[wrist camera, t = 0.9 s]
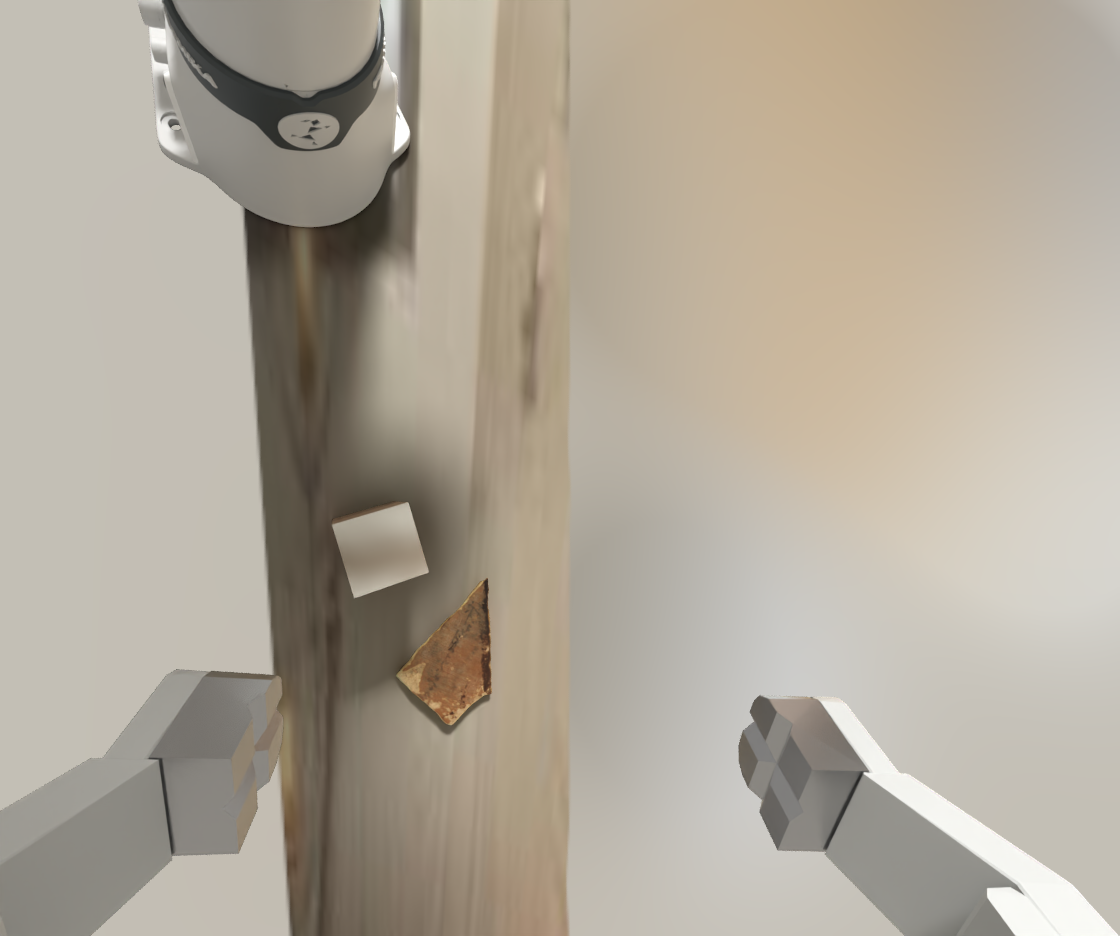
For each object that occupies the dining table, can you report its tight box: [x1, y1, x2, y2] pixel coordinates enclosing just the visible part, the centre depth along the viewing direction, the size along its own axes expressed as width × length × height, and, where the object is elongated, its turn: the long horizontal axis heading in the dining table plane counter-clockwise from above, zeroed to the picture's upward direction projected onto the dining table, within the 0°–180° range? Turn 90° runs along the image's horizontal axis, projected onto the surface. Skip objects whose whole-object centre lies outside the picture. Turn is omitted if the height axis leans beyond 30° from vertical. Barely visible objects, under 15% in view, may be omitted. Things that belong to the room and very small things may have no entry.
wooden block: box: [332, 501, 429, 598], centre depth 41 cm, size 5×5×10 cm
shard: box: [396, 578, 492, 725], centre depth 48 cm, size 11×8×2 cm
